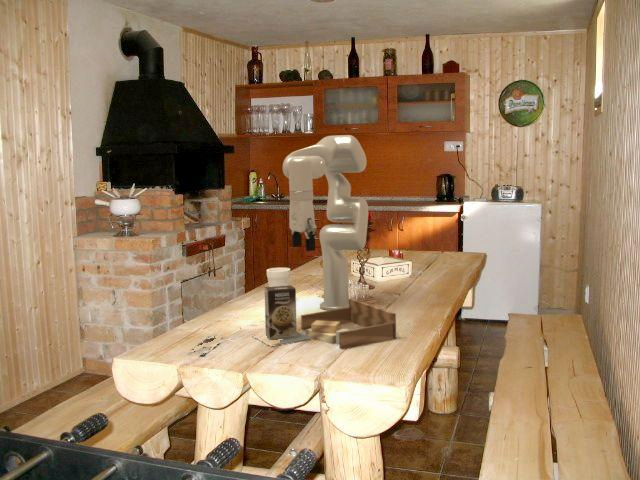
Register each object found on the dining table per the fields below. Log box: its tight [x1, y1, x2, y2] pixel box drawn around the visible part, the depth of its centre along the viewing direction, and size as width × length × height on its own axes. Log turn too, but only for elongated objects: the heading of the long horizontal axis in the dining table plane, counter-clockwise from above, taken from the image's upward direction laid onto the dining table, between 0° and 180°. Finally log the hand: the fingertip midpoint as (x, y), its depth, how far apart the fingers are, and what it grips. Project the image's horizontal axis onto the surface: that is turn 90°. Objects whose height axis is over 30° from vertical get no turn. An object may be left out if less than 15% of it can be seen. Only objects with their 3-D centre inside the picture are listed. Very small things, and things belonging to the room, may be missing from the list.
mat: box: [253, 331, 311, 346], centre depth 209 cm, size 14×14×1 cm
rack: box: [300, 298, 397, 350], centre depth 211 cm, size 26×20×8 cm
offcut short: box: [311, 320, 341, 334], centre depth 207 cm, size 8×5×2 cm, turn 72°
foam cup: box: [266, 267, 291, 287], centre depth 259 cm, size 10×9×13 cm
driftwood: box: [191, 335, 216, 350], centre depth 203 cm, size 21×7×2 cm, turn 166°
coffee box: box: [264, 284, 298, 340], centre depth 208 cm, size 9×6×16 cm
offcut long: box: [305, 328, 336, 345], centre depth 207 cm, size 12×6×3 cm, turn 45°
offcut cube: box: [335, 328, 349, 345], centre depth 201 cm, size 4×4×4 cm
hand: (303, 248), depth 213 cm, fingers open, 9 cm apart
